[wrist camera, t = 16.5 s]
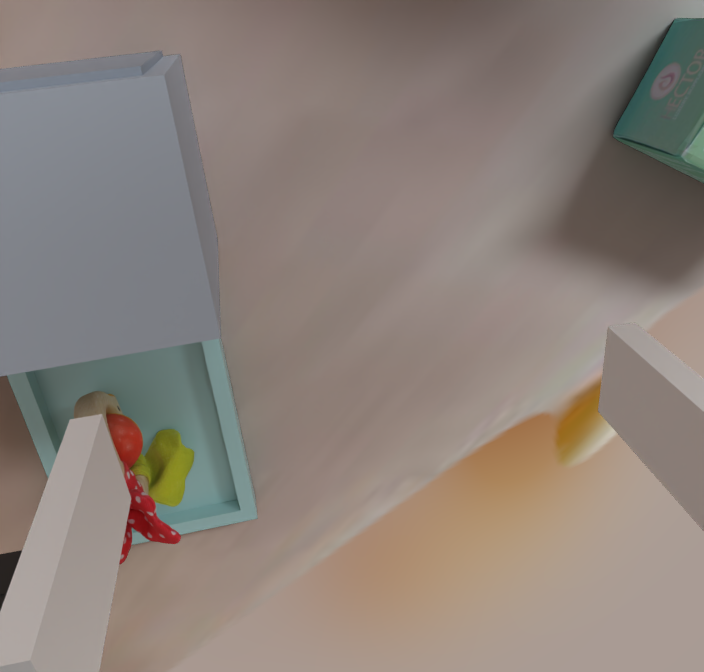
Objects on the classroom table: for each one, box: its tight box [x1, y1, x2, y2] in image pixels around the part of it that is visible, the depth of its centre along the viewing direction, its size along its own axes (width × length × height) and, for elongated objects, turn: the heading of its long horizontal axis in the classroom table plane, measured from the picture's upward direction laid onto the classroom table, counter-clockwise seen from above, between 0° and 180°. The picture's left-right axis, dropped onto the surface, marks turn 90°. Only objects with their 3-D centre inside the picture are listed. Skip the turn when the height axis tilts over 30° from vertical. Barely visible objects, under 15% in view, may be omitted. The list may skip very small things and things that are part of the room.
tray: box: [7, 338, 258, 545], centre depth 41 cm, size 17×12×2 cm
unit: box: [0, 51, 221, 376], centre depth 29 cm, size 11×12×13 cm
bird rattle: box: [74, 391, 195, 564], centre depth 36 cm, size 6×11×9 cm
